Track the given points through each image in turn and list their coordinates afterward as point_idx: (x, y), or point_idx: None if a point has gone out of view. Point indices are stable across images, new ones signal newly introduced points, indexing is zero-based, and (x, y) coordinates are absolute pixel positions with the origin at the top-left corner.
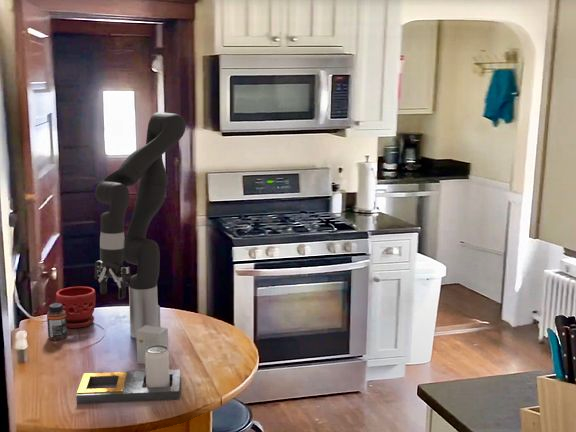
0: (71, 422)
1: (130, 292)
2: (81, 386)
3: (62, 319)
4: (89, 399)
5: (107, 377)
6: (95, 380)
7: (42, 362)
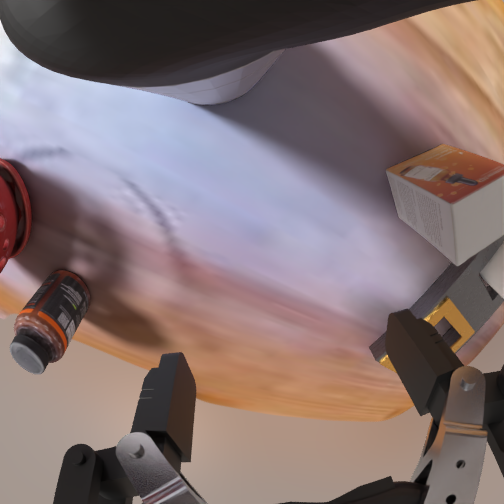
0: None
1: (162, 90)
2: None
3: (64, 326)
4: None
5: None
6: None
7: (211, 373)
